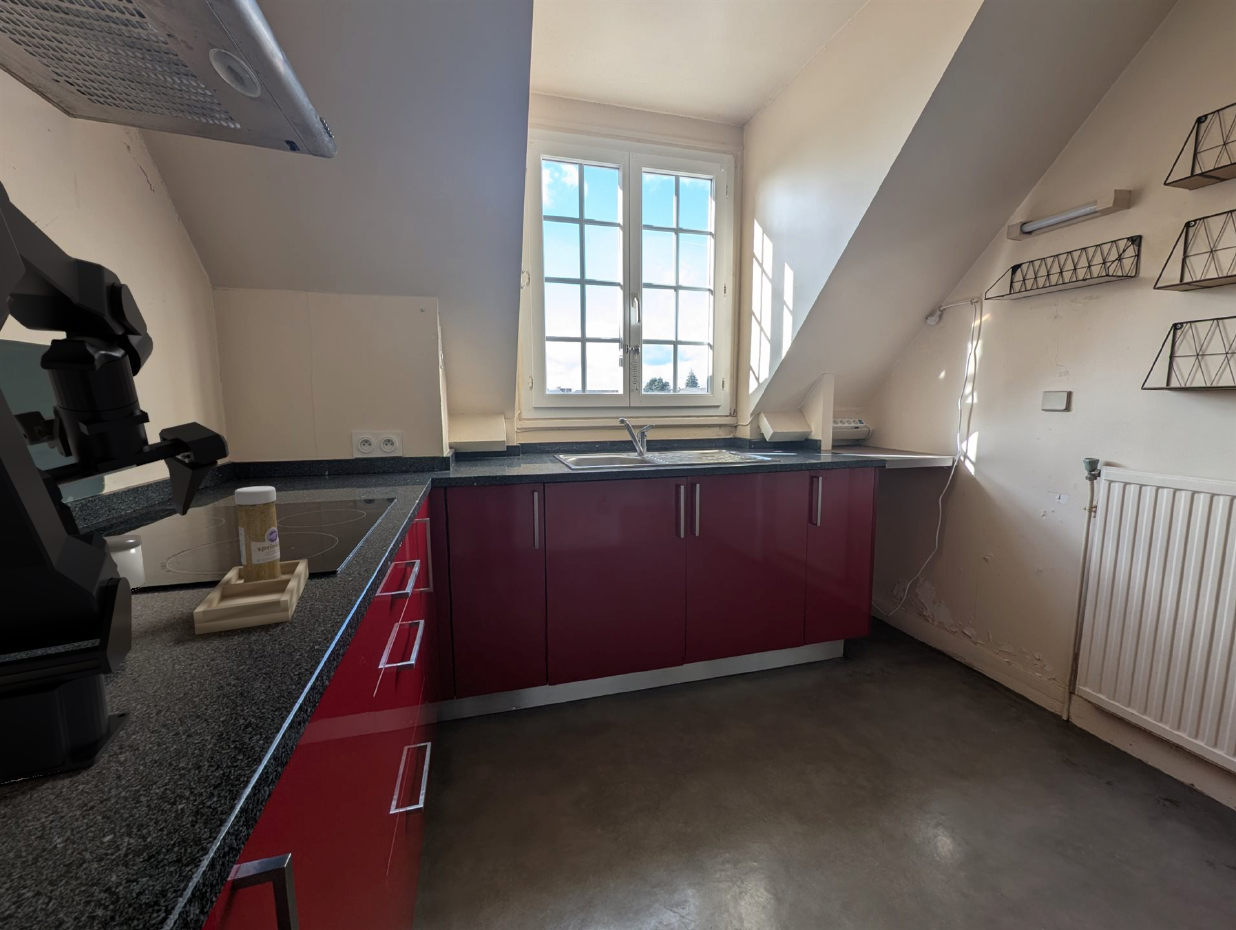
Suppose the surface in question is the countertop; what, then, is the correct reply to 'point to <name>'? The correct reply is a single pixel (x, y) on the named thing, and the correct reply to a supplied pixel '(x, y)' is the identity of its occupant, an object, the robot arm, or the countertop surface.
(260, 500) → the sprinkles bottle
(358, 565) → the countertop surface
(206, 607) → the caddy
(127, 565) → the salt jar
